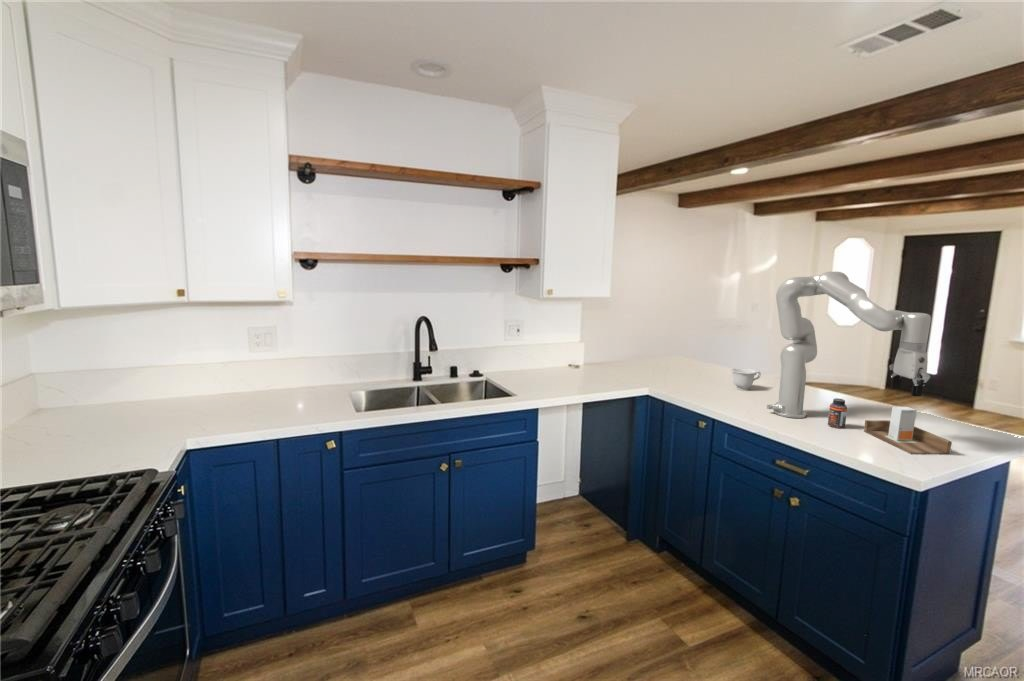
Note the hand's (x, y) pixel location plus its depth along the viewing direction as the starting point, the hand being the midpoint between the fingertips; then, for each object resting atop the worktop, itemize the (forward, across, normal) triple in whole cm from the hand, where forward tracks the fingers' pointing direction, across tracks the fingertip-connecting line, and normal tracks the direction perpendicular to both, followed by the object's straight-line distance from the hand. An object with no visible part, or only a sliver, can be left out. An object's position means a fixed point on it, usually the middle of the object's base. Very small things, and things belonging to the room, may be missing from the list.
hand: (905, 392), depth 177 cm
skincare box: (+18, 0, 0) cm, 18 cm away
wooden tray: (+19, -2, -1) cm, 19 cm away
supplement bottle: (+19, +15, +13) cm, 28 cm away
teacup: (+20, +75, +22) cm, 81 cm away
